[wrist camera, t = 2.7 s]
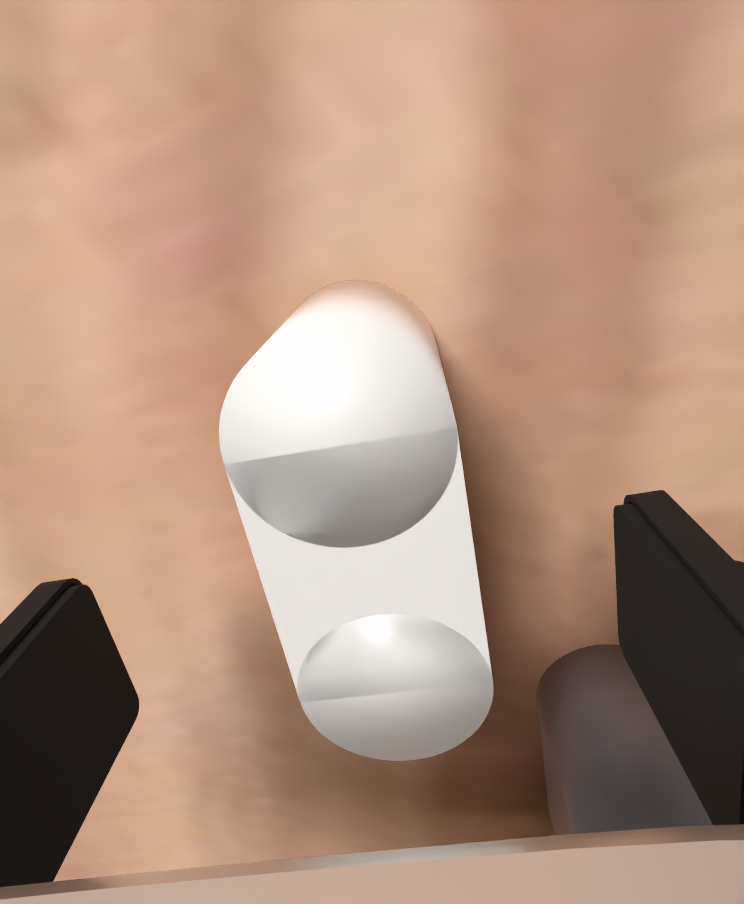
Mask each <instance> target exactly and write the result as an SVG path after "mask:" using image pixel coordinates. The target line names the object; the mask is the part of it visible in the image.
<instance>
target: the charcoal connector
mask: <svg viewBox="0 0 744 904" xmlns="http://www.w3.org/2000/svg"><path fill="white" fill-rule="evenodd" d="M537 705H538V715H539V725H540V734H541V744H542V753H543V763H544V773H545V782H546V792H547V801H548V811H549V816H550V820H551V824H552V828H553V832H554V835H567V834H581V833H595V832H609V831H624V830H638V829H652V828H666V827H680V826H700V825H713V824H712V822H711V820H710V818H709V817H708V815H707V813H706V811H705V809H704V807H703V805H702V803H701V801H700V800H699V798H698V796H697V794H696V792H695V790H694V788H693V786H692V784H691V783H690V781H689V779H688V777H687V775H686V773H685V771H684V769H683V767H682V766H681V764H680V762H679V760H678V758H677V756H676V754H675V752H674V750H673V749H672V747H671V745H670V743H669V741H668V739H667V737H666V735H665V733H664V732H663V730H662V728H661V726H660V724H659V722H658V720H657V718H656V716H655V715H654V713H653V711H652V709H651V707H650V705H649V703H648V701H647V699H646V698H645V696H644V694H643V692H642V690H641V688H640V686H639V684H638V682H637V680H636V679H635V677H634V675H633V673H632V671H631V669H630V667H629V665H628V663H627V662H626V660H625V658H624V655H623V653H622V650H621V646H618V645H595V646H589V647H585V648H581V649H578V650H575V651H573V652H571V653H569V654H567V655H565V656H563V657H561V658H560V659H558V660H557V661H556V662H555V663H553V664H552V665H551V666H550V667H549V668H548V669H547V670H546V672H545V673H544V675H543V676H542V678H541V680H540V682H539V685H538V689H537Z"/></svg>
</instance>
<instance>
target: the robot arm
mask: <svg viewBox="0 0 744 904" xmlns="http://www.w3.org/2000/svg"><path fill="white" fill-rule="evenodd" d="M614 540H615V565H616V590H617V615H618V636H619V642H620V646H621V650H622V653H623V655H624V658H625V660H626V662H627V663H628V665H629V667H630V669H631V671H632V673H633V675H634V677H635V679H636V680H637V682H638V684H639V686H640V688H641V690H642V692H643V694H644V696H645V698H646V699H647V701H648V703H649V705H650V707H651V709H652V711H653V713H654V715H655V716H656V718H657V720H658V722H659V724H660V726H661V728H662V730H663V732H664V733H665V735H666V737H667V739H668V741H669V743H670V745H671V747H672V749H673V750H674V752H675V754H676V756H677V758H678V760H679V762H680V764H681V766H682V767H683V769H684V771H685V773H686V775H687V777H688V779H689V781H690V783H691V784H692V786H693V788H694V790H695V792H696V794H697V796H698V798H699V800H700V801H701V803H702V805H703V807H704V809H705V811H706V813H707V815H708V817H709V818H710V820H711V822H712V824H713V825H700V826H680V827H666V828H652V829H638V830H624V831H609V832H595V833H581V834H567V835H553V836H541V837H530V838H519V839H507V840H496V841H485V842H473V843H462V844H451V845H439V846H428V847H417V848H405V849H394V850H383V851H371V852H360V853H349V854H338V855H327V856H317V857H306V858H295V859H284V860H274V861H263V862H252V863H242V864H231V865H221V866H210V867H200V868H189V869H179V870H168V871H158V872H147V873H137V874H126V875H116V876H106V877H96V878H87V879H77V880H67V881H57V882H53V880H54V878H55V877H56V875H57V873H58V871H59V869H60V867H61V865H62V863H63V861H64V859H65V857H66V855H67V853H68V851H69V849H70V847H71V845H72V843H73V841H74V839H75V837H76V835H77V833H78V832H79V830H80V828H81V826H82V824H83V822H84V820H85V818H86V816H87V814H88V812H89V810H90V808H91V806H92V804H93V802H94V800H95V798H96V796H97V794H98V792H99V790H100V788H101V787H102V785H103V783H104V781H105V779H106V777H107V775H108V773H109V771H110V769H111V767H112V765H113V763H114V761H115V759H116V757H117V755H118V753H119V751H120V749H121V747H122V745H123V743H124V742H125V740H126V738H127V736H128V734H129V732H130V730H131V728H132V726H133V724H134V722H135V720H136V718H137V715H138V711H139V699H138V695H137V693H136V691H135V688H134V686H133V684H132V681H131V679H130V677H129V675H128V672H127V670H126V668H125V665H124V663H123V661H122V659H121V656H120V654H119V652H118V649H117V647H116V645H115V643H114V640H113V638H112V636H111V633H110V631H109V629H108V627H107V624H106V622H105V620H104V617H103V615H102V613H101V611H100V608H99V606H98V604H97V601H96V599H95V597H94V595H93V592H92V590H91V589H90V588H89V587H88V586H87V585H83V584H82V583H81V582H80V581H79V580H78V579H74V578H71V579H65V580H58V581H51V582H45V583H41V584H40V585H38V586H37V587H36V588H35V589H34V590H33V591H32V592H31V593H30V594H29V595H28V596H27V597H26V598H25V599H24V600H23V601H22V602H21V603H20V604H19V605H18V607H17V608H16V609H15V610H14V611H13V612H12V613H11V614H10V615H9V616H8V617H7V618H6V619H5V620H4V621H3V622H2V623H1V624H0V904H744V563H743V562H740V561H734V560H733V559H732V558H731V557H730V556H729V555H728V554H727V553H726V552H725V551H724V550H723V549H722V548H721V547H720V546H719V545H718V544H717V543H716V542H715V541H714V540H713V539H712V538H711V537H710V536H709V535H708V534H707V533H706V532H705V531H704V530H703V529H702V528H701V527H700V526H699V525H698V524H697V523H696V522H695V521H694V520H693V519H692V518H691V517H690V516H689V515H688V514H687V513H686V512H685V511H684V510H683V509H682V508H681V507H680V506H679V505H678V504H677V503H676V502H675V501H674V500H673V499H672V498H671V497H670V496H669V495H668V494H667V493H666V492H665V491H663V490H659V491H652V492H645V493H639V494H632V495H627V496H626V497H625V499H624V505H617V506H615V507H614Z"/></svg>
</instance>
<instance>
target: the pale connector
mask: <svg viewBox="0 0 744 904" xmlns="http://www.w3.org/2000/svg"><path fill="white" fill-rule="evenodd" d="M219 440H220V449H221V454H222V458H223V462H224V466H225V469H226V472H227V475H228V478H229V481H230V485H231V488H232V491H233V494H234V497H235V500H236V503H237V507H238V510H239V513H240V516H241V519H242V522H243V525H244V528H245V532H246V535H247V538H248V541H249V544H250V547H251V550H252V553H253V557H254V560H255V563H256V566H257V569H258V572H259V575H260V578H261V582H262V585H263V588H264V591H265V594H266V597H267V600H268V603H269V607H270V610H271V613H272V616H273V619H274V622H275V625H276V628H277V632H278V635H279V638H280V641H281V644H282V647H283V650H284V653H285V657H286V660H287V663H288V666H289V669H290V672H291V675H292V678H293V682H294V685H295V688H296V691H297V694H298V697H299V700H300V703H301V706H302V708H303V711H304V713H305V714H306V716H307V718H308V719H309V721H310V722H311V723H312V724H313V726H314V727H315V728H316V729H317V730H318V731H319V732H320V733H321V734H322V735H323V736H324V737H326V738H327V739H328V740H330V741H331V742H333V743H334V744H336V745H338V746H340V747H341V748H343V749H346V750H348V751H350V752H352V753H355V754H358V755H361V756H364V757H369V758H373V759H379V760H387V761H410V760H417V759H423V758H428V757H432V756H435V755H438V754H441V753H444V752H446V751H448V750H450V749H452V748H454V747H456V746H458V745H459V744H461V743H462V742H464V741H465V740H467V739H468V738H469V737H470V736H471V735H473V734H474V732H475V731H476V730H477V729H478V728H479V727H480V726H481V724H482V723H483V721H484V720H485V718H486V716H487V714H488V712H489V710H490V707H491V704H492V700H493V692H494V691H493V678H492V671H491V664H490V657H489V650H488V643H487V636H486V629H485V622H484V615H483V608H482V601H481V594H480V587H479V579H478V572H477V565H476V558H475V551H474V544H473V537H472V530H471V523H470V516H469V509H468V502H467V495H466V488H465V481H464V474H463V467H462V460H461V453H460V446H459V438H458V431H457V425H456V421H455V416H454V412H453V408H452V404H451V400H450V396H449V392H448V388H447V384H446V380H445V376H444V372H443V368H442V364H441V361H440V357H439V353H438V349H437V345H436V341H435V337H434V334H433V332H432V329H431V326H430V325H429V323H428V321H427V319H426V317H425V316H424V314H423V313H422V312H421V310H420V309H419V308H418V307H417V306H416V305H415V304H414V302H413V301H411V300H410V299H409V298H408V297H406V296H405V295H404V294H402V293H401V292H399V291H397V290H396V289H394V288H391V287H389V286H387V285H384V284H381V283H378V282H373V281H367V280H349V281H342V282H338V283H334V284H331V285H329V286H326V287H324V288H322V289H320V290H319V291H317V292H315V293H313V294H312V295H311V296H310V297H308V298H307V299H306V300H305V301H304V302H303V303H302V304H301V305H300V306H299V307H298V308H297V309H296V310H295V311H294V313H293V314H292V315H291V316H290V317H289V318H288V319H287V320H286V321H285V322H284V323H283V324H282V326H281V327H280V328H279V329H278V330H277V331H276V332H275V333H274V334H273V335H272V336H271V337H270V339H269V340H268V341H267V342H266V343H265V344H264V345H263V346H262V347H261V348H260V349H259V350H258V352H257V353H256V354H255V355H254V356H253V357H252V358H251V359H250V360H249V361H248V362H247V363H246V365H245V366H244V367H243V368H242V369H241V371H240V372H239V373H238V375H237V376H236V378H235V379H234V381H233V383H232V384H231V386H230V388H229V390H228V392H227V395H226V398H225V401H224V404H223V407H222V411H221V417H220V425H219Z"/></svg>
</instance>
